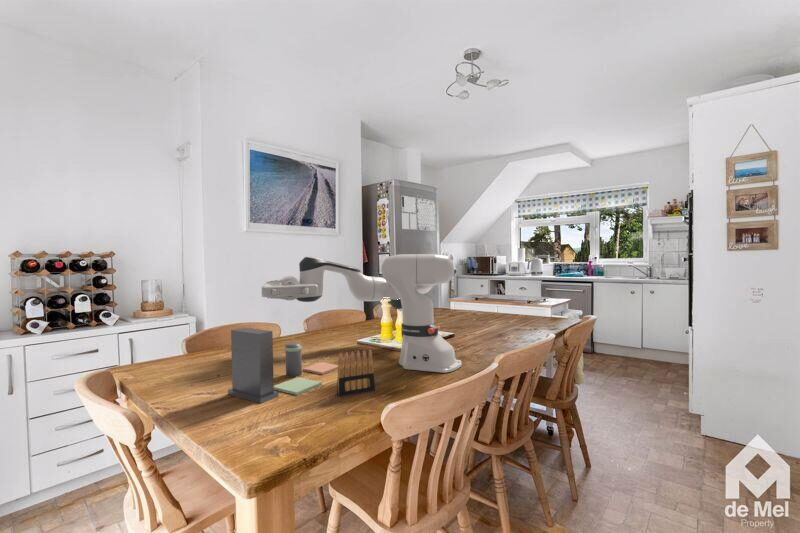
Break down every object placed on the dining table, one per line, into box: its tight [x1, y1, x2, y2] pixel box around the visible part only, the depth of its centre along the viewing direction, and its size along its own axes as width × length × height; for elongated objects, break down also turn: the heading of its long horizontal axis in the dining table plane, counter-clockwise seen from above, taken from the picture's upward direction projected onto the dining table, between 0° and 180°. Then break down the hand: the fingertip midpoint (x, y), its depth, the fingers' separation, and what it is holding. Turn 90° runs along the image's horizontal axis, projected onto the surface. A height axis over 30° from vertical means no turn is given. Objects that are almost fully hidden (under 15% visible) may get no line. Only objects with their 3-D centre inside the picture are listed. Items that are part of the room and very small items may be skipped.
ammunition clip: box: [336, 348, 376, 397], centre depth 110 cm, size 11×2×12 cm, turn 115°
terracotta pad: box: [302, 361, 338, 376], centre depth 133 cm, size 9×9×1 cm
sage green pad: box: [274, 376, 323, 396], centre depth 115 cm, size 10×10×1 cm
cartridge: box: [284, 342, 303, 378], centre depth 127 cm, size 5×5×10 cm
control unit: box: [227, 327, 280, 404], centre depth 108 cm, size 14×6×18 cm, turn 59°
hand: (290, 292), depth 138 cm, fingers open, 8 cm apart
